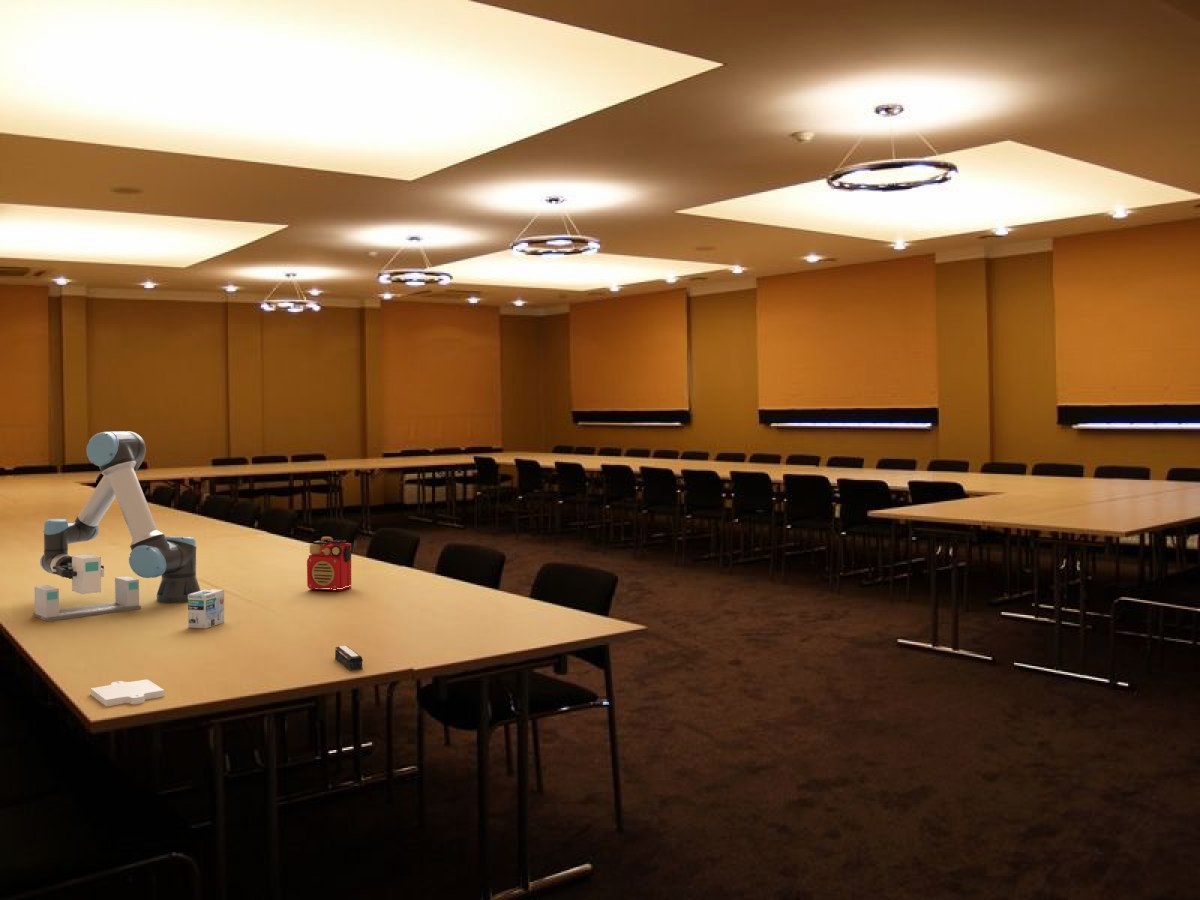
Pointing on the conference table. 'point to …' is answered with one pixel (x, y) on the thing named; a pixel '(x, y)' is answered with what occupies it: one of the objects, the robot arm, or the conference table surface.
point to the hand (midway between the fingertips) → (92, 574)
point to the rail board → (88, 611)
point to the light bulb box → (205, 608)
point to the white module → (87, 574)
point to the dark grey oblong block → (348, 658)
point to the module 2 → (127, 591)
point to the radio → (329, 564)
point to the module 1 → (46, 601)
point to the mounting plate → (127, 692)
